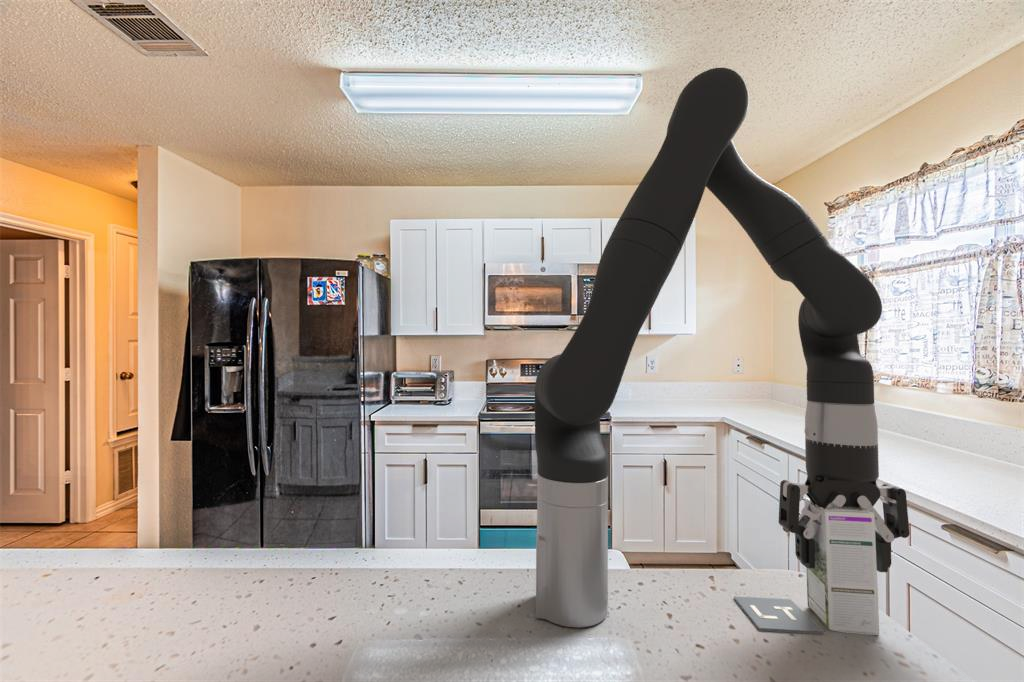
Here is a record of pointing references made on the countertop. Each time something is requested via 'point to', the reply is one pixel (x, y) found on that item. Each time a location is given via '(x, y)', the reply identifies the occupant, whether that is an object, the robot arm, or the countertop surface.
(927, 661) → the countertop surface
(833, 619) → the syrup box
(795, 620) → the tile
